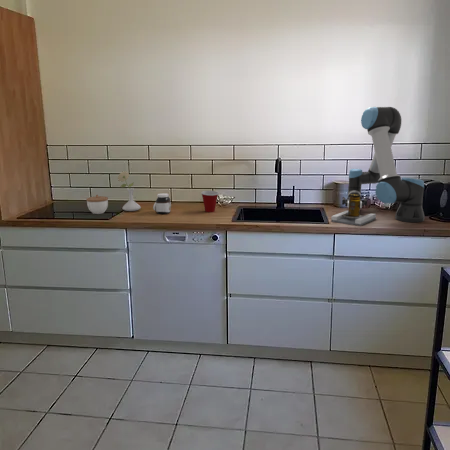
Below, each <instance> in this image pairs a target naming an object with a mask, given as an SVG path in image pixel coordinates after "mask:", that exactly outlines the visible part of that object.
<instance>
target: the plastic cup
mask: <svg viewBox="0 0 450 450" xmlns="http://www.w3.org/2000/svg"><path fill="white" fill-rule="evenodd" d="M219 193H220V192H218V191H215V190H203V191H201V192H200V194H201V196H202V201H203V206H204V211H205V213H214V212H215V211H216V205H217V199H218V196H219Z"/></svg>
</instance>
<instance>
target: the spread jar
mask: <svg viewBox="0 0 450 450" xmlns="http://www.w3.org/2000/svg"><path fill="white" fill-rule="evenodd" d="M156 195H157V196H156V197H157V198H156V200H155V202H154V204H153V206H152V209H153V211H155V212H156V213H157V214H158V215H168V214H170V213H171V210H172V203H171V202H172V201H171V198H170V197H169V196H170V195H169V193H166V192H165V193H157V194H156Z"/></svg>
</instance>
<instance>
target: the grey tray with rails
mask: <svg viewBox="0 0 450 450" xmlns="http://www.w3.org/2000/svg"><path fill="white" fill-rule="evenodd" d="M346 214H348V210H344V211H342V212H339V213H336V214H334V215H331V216H330V217H331V218H330V222H333V223H339V224H345V225H351V226H357V225H358V227H359V226H360V227H361V225H362V226H363V225H366V224H369V223H370V222H372V221H375V220H376V216H377V214H376V213H368V214H365V215H361V217H354V218H350V217H346V216H343V215H346Z"/></svg>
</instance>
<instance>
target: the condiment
mask: <svg viewBox="0 0 450 450" xmlns="http://www.w3.org/2000/svg"><path fill="white" fill-rule="evenodd" d="M360 210H361V208H360V195H359V194H351V195H350V199H349V208H348V214H346V215H343V216H346V217H350V218H354V217H361V216H362V215H361V214H360Z"/></svg>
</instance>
